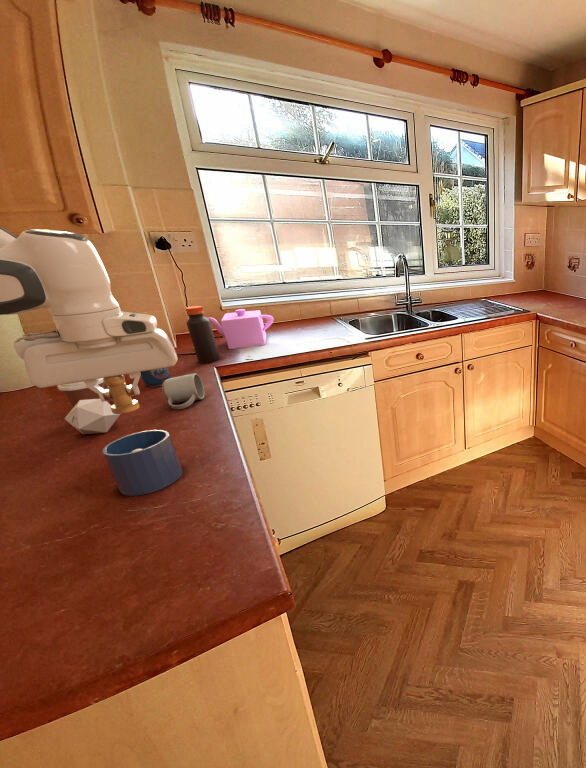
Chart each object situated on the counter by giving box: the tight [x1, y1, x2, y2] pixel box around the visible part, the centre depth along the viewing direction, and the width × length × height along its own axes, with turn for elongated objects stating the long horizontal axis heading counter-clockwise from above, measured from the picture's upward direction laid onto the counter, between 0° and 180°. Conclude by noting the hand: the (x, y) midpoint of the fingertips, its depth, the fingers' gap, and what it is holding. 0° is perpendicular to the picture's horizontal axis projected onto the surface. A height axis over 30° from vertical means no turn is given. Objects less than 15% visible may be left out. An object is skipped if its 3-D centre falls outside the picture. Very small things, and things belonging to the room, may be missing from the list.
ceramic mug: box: [161, 372, 205, 410], centre depth 120 cm, size 11×8×8 cm
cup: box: [101, 429, 184, 497], centre depth 84 cm, size 10×10×9 cm
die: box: [64, 399, 121, 435], centre depth 105 cm, size 8×9×10 cm
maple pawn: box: [103, 374, 141, 415], centre depth 80 cm, size 4×4×8 cm
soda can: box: [140, 367, 172, 388], centre depth 134 cm, size 7×7×12 cm
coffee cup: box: [57, 378, 110, 409], centre depth 111 cm, size 9×9×12 cm
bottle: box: [185, 305, 221, 364], centre depth 153 cm, size 7×7×20 cm
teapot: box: [205, 308, 275, 350], centre depth 177 cm, size 15×25×14 cm, turn 117°
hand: (121, 397), depth 80 cm, fingers closed on maple pawn, 2 cm apart
